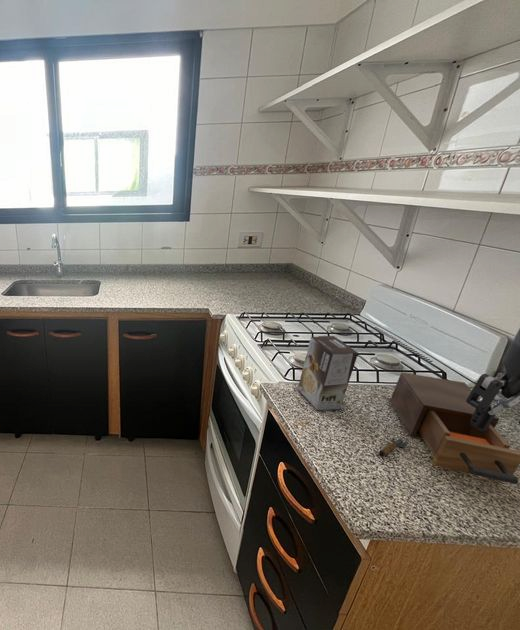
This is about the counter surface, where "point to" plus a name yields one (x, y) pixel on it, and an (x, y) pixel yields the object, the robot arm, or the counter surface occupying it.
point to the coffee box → (326, 372)
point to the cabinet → (429, 399)
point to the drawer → (468, 447)
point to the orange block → (469, 438)
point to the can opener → (392, 447)
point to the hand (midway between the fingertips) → (502, 427)
